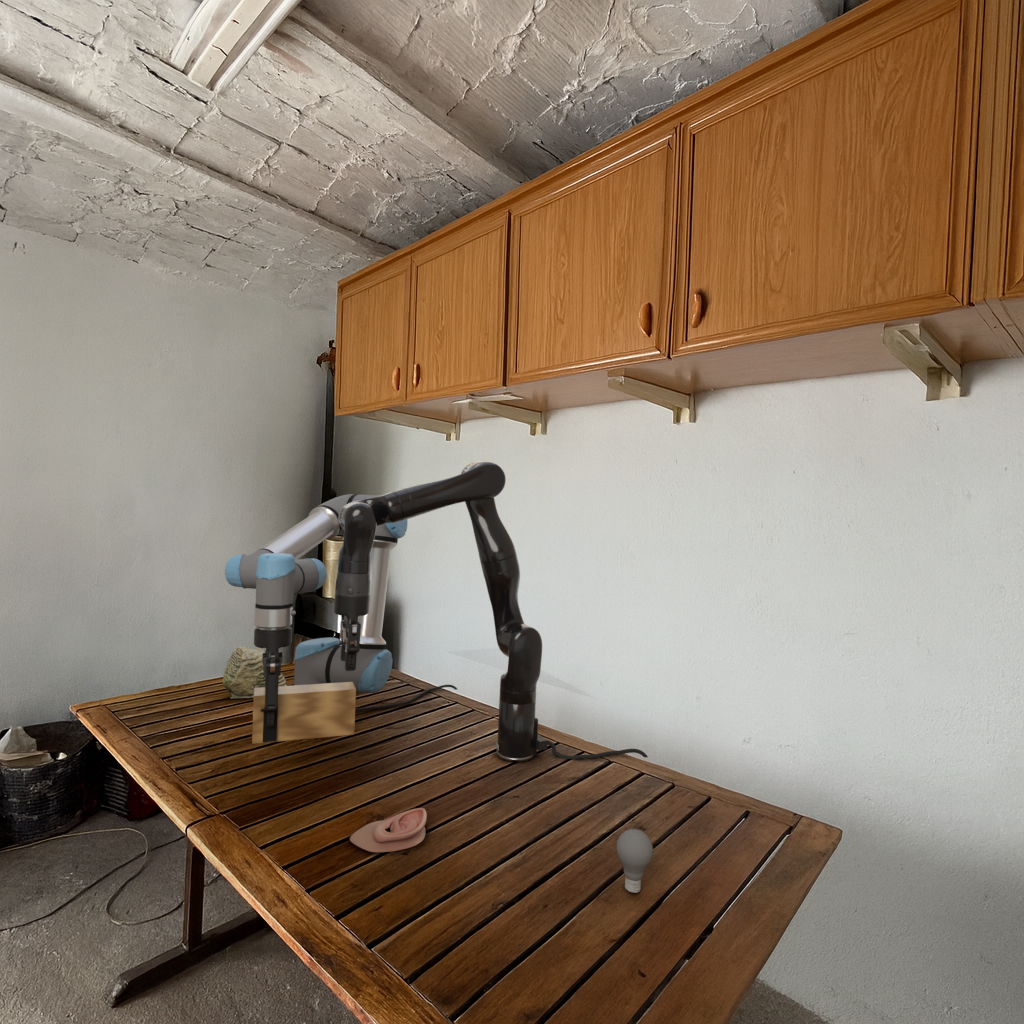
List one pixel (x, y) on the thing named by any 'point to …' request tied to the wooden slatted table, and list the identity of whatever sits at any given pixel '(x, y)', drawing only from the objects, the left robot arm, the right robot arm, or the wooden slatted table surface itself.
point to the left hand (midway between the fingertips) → (269, 735)
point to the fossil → (245, 673)
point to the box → (308, 711)
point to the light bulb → (634, 857)
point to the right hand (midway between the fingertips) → (347, 665)
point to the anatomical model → (392, 832)
